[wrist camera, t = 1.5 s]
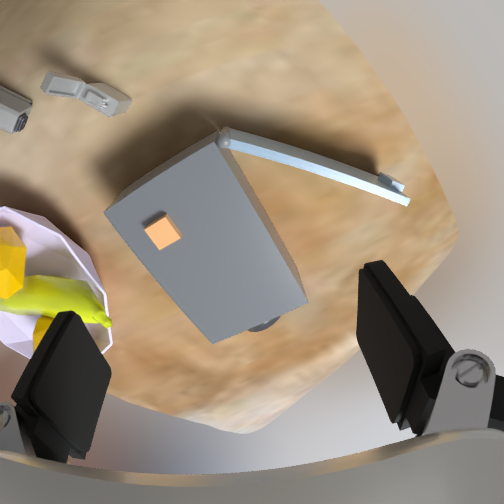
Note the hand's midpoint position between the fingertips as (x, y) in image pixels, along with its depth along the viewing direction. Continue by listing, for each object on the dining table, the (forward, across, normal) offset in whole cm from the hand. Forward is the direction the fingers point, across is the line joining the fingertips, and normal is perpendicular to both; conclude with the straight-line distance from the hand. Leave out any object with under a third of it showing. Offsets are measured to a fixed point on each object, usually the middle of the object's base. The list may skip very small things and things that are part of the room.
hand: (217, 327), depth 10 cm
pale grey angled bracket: (+25, +11, -11) cm, 30 cm away
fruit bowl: (+26, +28, +10) cm, 40 cm away
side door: (+25, -9, 0) cm, 26 cm away
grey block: (+26, +3, +7) cm, 27 cm away
